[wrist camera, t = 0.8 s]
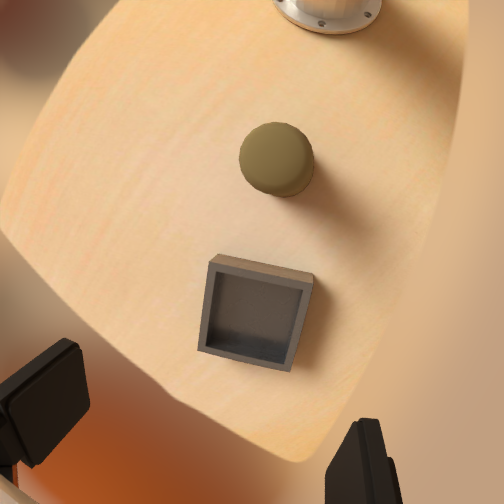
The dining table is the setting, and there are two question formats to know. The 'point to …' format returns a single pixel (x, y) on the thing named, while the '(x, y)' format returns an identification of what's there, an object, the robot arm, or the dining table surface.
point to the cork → (277, 159)
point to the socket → (253, 311)
